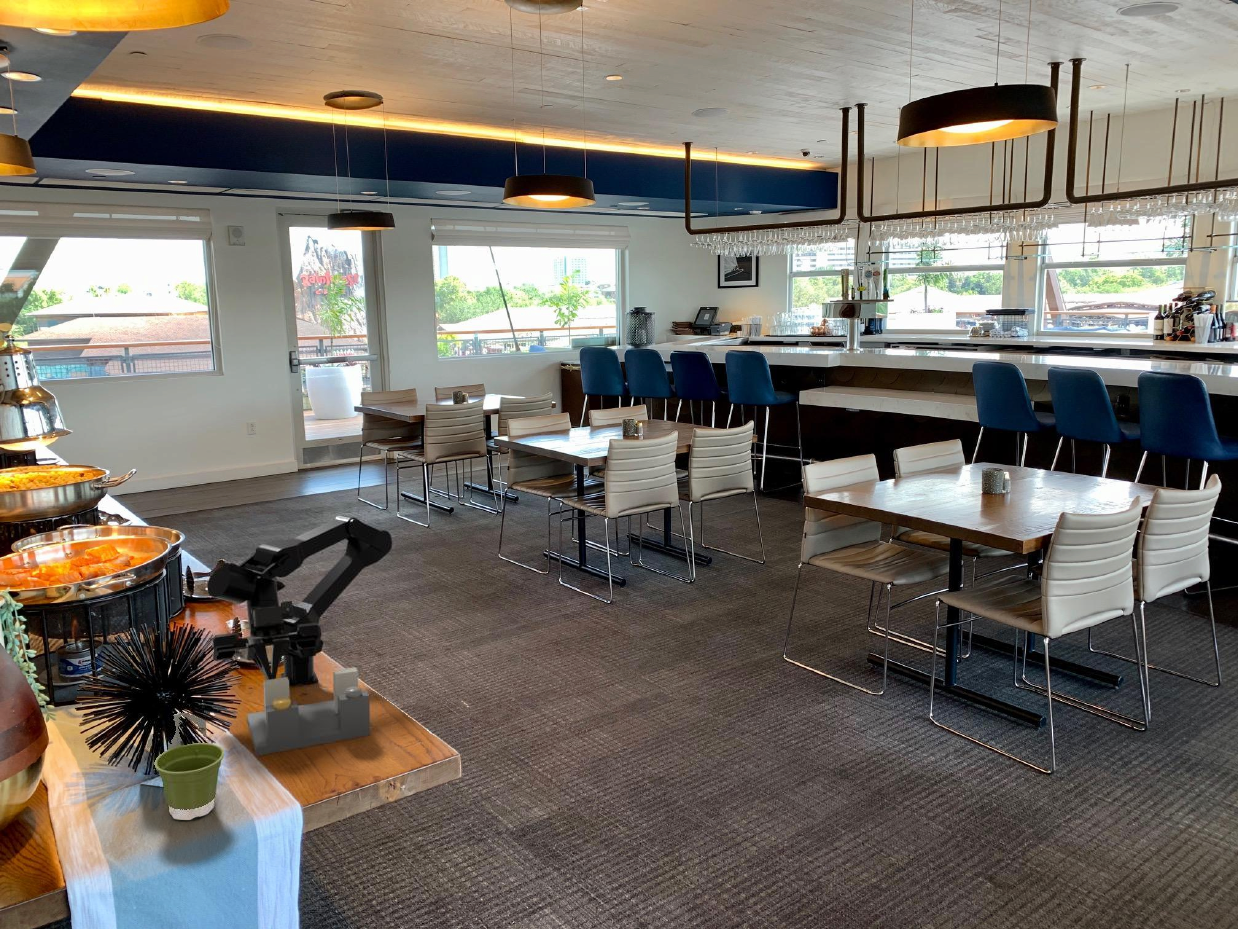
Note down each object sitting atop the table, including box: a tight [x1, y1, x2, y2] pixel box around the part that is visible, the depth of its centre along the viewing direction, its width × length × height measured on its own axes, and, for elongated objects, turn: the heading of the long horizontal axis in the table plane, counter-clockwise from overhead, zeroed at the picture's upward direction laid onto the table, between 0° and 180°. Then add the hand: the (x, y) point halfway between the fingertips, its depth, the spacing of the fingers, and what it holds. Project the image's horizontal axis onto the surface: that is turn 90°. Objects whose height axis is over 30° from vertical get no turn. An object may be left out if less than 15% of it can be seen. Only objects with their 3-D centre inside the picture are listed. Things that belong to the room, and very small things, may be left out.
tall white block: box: [263, 677, 290, 723], centre depth 162 cm, size 2×4×8 cm, turn 117°
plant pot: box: [154, 742, 225, 810], centre depth 137 cm, size 9×9×9 cm
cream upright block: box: [332, 666, 359, 714], centre depth 168 cm, size 2×4×8 cm, turn 118°
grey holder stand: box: [246, 686, 371, 757], centre depth 164 cm, size 14×19×8 cm
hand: (272, 683), depth 166 cm, fingers closed
